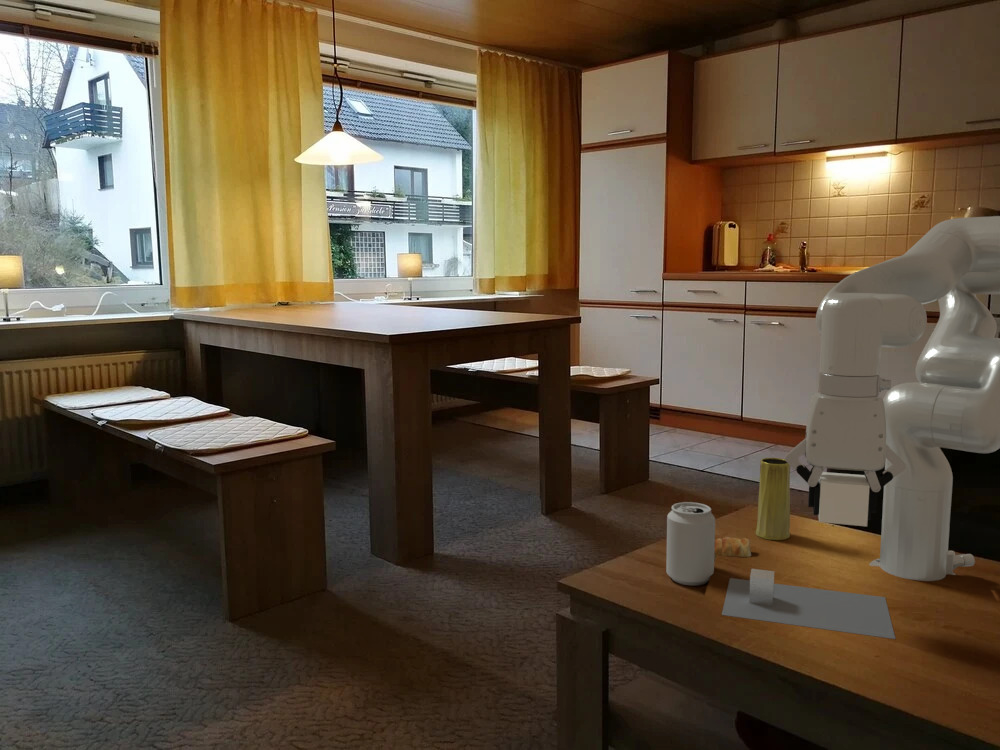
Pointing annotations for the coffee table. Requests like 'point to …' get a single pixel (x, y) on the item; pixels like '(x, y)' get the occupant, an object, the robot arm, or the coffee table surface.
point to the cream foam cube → (843, 499)
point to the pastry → (732, 547)
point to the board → (813, 609)
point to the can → (690, 543)
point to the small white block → (761, 587)
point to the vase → (774, 499)
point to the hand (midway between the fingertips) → (841, 513)
